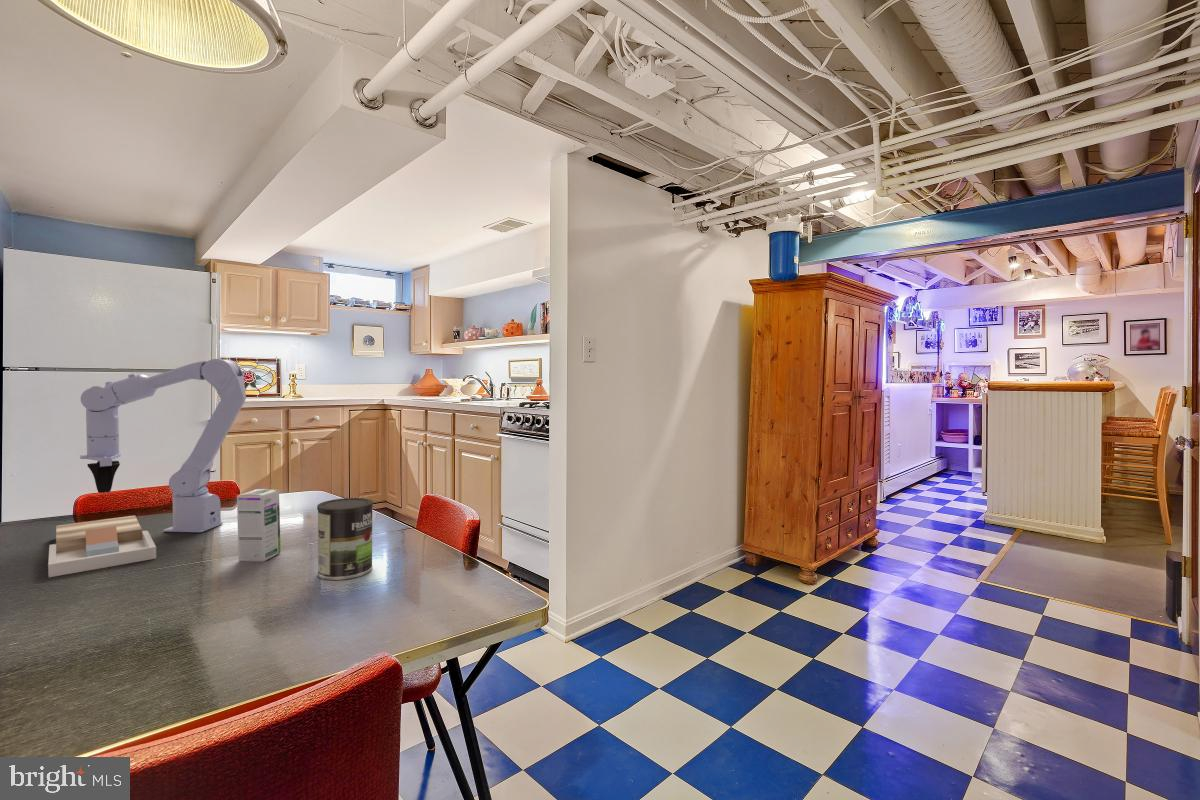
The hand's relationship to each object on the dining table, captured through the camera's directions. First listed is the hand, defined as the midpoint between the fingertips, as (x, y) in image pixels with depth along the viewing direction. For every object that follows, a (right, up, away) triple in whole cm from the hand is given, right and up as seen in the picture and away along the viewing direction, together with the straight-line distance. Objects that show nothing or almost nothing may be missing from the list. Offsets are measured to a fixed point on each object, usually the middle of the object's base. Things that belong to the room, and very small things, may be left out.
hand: (104, 492), depth 129 cm
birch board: (+2, -11, -4) cm, 12 cm away
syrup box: (+46, -12, -13) cm, 49 cm away
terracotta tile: (+10, -9, -11) cm, 17 cm away
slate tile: (+14, -9, -15) cm, 22 cm away
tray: (+13, -11, -15) cm, 23 cm away
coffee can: (+68, -13, -20) cm, 72 cm away
